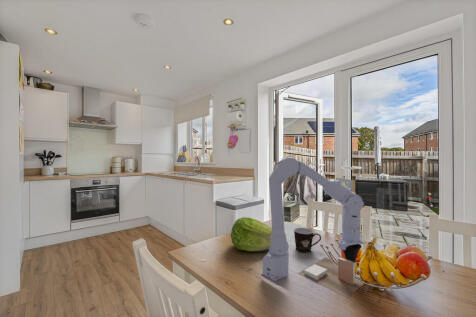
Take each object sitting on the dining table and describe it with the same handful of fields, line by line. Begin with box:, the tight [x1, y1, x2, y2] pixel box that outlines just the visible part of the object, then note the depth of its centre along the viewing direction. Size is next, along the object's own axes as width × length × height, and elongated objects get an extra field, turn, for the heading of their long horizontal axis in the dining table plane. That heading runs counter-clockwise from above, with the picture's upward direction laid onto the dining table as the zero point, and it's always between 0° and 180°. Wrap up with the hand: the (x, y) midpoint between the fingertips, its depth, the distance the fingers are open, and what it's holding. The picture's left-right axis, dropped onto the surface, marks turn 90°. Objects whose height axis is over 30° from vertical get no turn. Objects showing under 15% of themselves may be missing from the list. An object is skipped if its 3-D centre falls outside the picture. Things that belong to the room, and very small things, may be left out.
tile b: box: [337, 257, 356, 285], centre depth 75 cm, size 2×5×7 cm, turn 39°
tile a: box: [303, 263, 327, 280], centre depth 79 cm, size 2×5×7 cm
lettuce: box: [230, 216, 272, 253], centre depth 104 cm, size 17×24×14 cm
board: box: [297, 257, 365, 299], centre depth 79 cm, size 20×18×1 cm
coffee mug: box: [293, 227, 322, 254], centre depth 99 cm, size 12×9×10 cm
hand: (350, 264), depth 77 cm, fingers closed
